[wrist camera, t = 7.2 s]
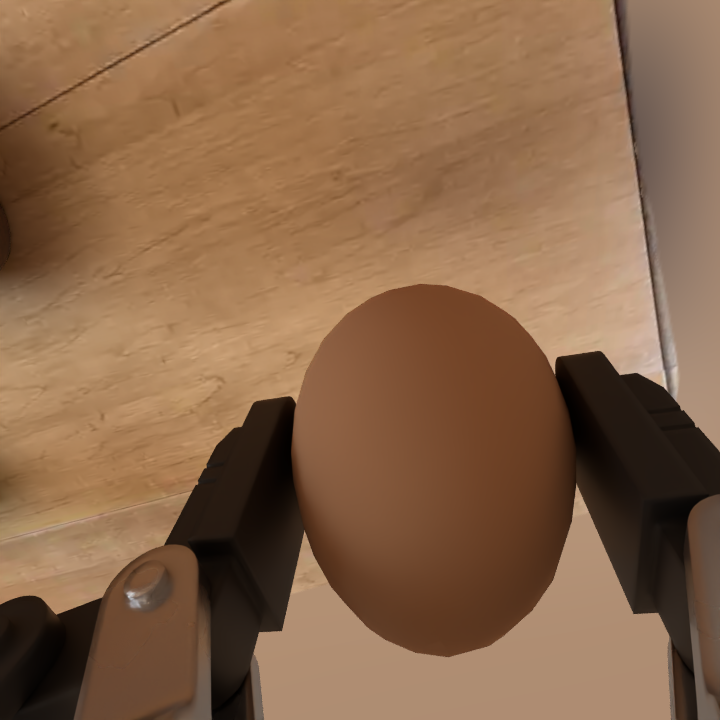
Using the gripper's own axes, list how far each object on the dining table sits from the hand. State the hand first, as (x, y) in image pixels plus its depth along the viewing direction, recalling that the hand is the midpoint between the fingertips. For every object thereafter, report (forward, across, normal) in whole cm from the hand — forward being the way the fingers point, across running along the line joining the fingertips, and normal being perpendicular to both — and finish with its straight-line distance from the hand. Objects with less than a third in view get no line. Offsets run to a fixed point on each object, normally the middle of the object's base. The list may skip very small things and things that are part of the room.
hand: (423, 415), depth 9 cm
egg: (+4, 0, 0) cm, 4 cm away
